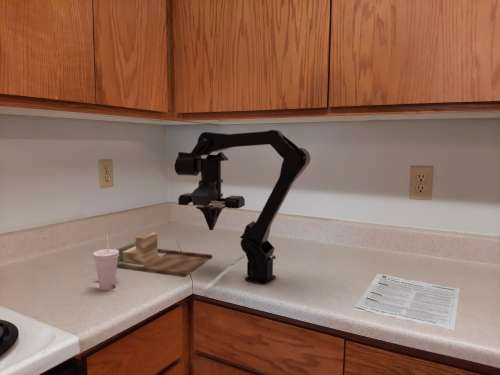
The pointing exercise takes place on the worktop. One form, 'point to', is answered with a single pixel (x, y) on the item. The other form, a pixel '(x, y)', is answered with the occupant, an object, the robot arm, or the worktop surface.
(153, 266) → the brown wooden tray
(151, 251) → the step block
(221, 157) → the robot arm
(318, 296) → the worktop surface
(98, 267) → the smoothie
